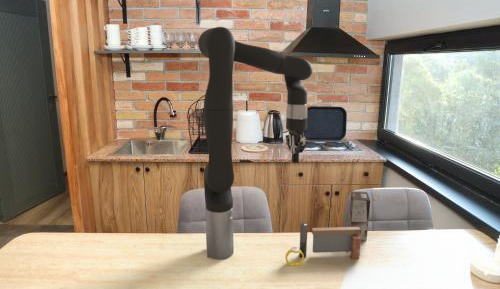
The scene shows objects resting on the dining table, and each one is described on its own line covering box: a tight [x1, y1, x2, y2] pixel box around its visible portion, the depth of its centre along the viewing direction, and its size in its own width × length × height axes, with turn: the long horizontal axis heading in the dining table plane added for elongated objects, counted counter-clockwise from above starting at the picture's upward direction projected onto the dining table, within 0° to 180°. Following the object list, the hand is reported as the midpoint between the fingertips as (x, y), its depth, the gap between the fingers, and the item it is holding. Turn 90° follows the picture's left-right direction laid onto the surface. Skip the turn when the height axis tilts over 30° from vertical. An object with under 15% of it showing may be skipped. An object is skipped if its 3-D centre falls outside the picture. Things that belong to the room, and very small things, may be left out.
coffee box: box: [347, 191, 371, 241], centre depth 132 cm, size 9×6×16 cm
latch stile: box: [349, 235, 362, 261], centre depth 117 cm, size 2×2×8 cm
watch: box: [285, 246, 305, 267], centre depth 113 cm, size 6×3×6 cm, turn 90°
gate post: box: [298, 222, 308, 259], centre depth 118 cm, size 2×2×12 cm
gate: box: [311, 226, 361, 254], centre depth 118 cm, size 16×2×8 cm, turn 93°
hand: (295, 162), depth 128 cm, fingers closed
